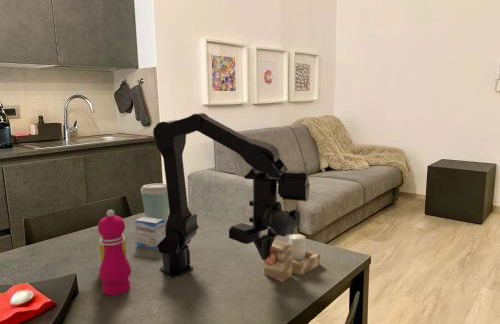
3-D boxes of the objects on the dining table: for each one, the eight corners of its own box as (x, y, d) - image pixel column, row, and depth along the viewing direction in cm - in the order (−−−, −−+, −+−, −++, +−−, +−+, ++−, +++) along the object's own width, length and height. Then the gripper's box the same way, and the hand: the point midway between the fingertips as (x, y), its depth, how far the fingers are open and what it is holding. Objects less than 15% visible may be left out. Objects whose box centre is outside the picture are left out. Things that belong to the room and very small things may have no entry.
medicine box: (136, 247, 119) (134, 220, 117) (145, 242, 123) (143, 215, 122) (157, 250, 116) (156, 223, 115) (166, 245, 120) (164, 218, 119)
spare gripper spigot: (298, 270, 102) (298, 241, 101) (285, 265, 105) (285, 237, 104) (308, 264, 105) (308, 237, 104) (295, 260, 108) (295, 233, 107)
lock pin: (274, 268, 95) (274, 252, 94) (262, 263, 98) (261, 248, 97) (295, 257, 101) (295, 242, 100) (283, 252, 104) (283, 238, 103)
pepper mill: (122, 298, 90) (116, 215, 86) (94, 295, 91) (86, 213, 87) (137, 283, 97) (132, 206, 93) (111, 280, 98) (104, 204, 94)
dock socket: (286, 283, 95) (286, 251, 94) (260, 272, 101) (260, 241, 100) (320, 264, 105) (320, 235, 104) (294, 255, 111) (294, 227, 110)
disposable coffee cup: (142, 221, 142) (140, 181, 139) (172, 219, 145) (170, 179, 142) (142, 231, 132) (139, 189, 129) (174, 228, 135) (172, 186, 132)
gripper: (263, 213, 80) (262, 283, 83) (315, 196, 93) (313, 257, 96) (227, 202, 88) (227, 267, 91) (280, 188, 101) (279, 245, 104)
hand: (264, 259), depth 95 cm, fingers closed
